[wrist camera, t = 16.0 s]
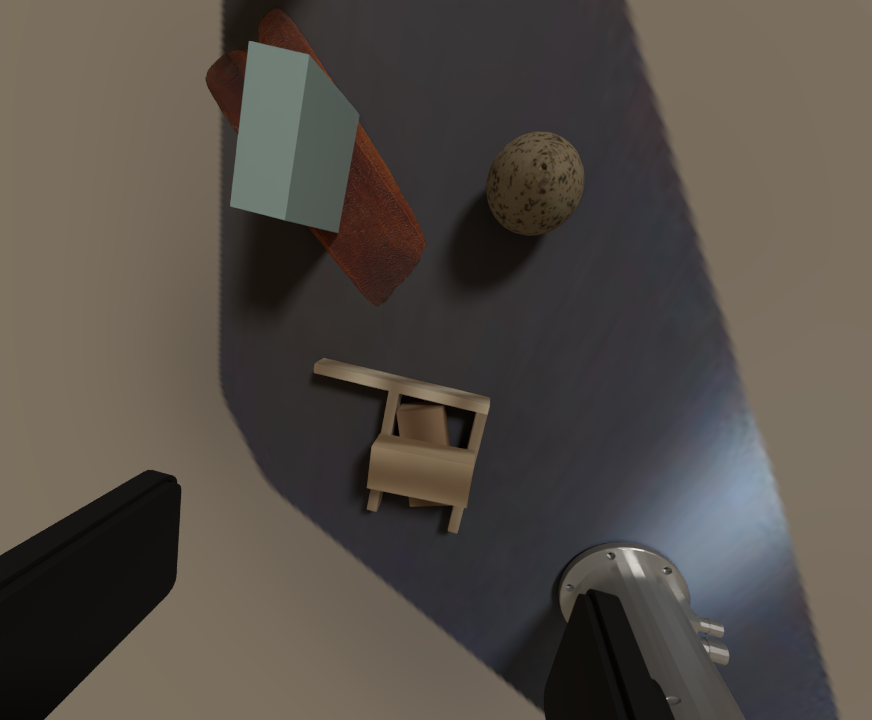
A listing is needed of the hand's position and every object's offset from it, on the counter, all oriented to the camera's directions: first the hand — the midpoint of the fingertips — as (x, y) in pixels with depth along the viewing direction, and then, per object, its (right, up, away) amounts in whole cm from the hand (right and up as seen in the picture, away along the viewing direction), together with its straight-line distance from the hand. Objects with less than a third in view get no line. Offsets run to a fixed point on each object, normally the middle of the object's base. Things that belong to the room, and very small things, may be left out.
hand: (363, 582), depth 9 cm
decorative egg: (+10, +19, +26) cm, 34 cm away
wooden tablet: (-8, +22, +29) cm, 37 cm away
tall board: (-8, +22, +27) cm, 36 cm away
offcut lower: (+1, -4, +33) cm, 33 cm away
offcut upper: (0, -5, +30) cm, 30 cm away
